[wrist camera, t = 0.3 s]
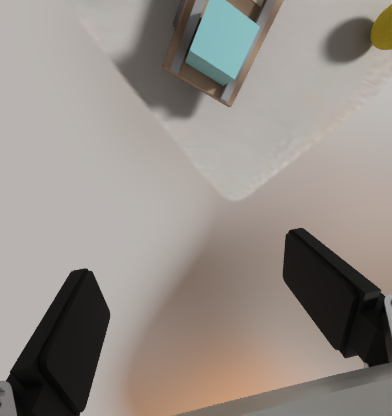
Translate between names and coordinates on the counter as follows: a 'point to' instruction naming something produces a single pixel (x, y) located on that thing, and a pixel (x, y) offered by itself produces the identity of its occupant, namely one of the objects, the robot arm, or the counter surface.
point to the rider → (221, 42)
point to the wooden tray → (185, 33)
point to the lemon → (383, 30)
